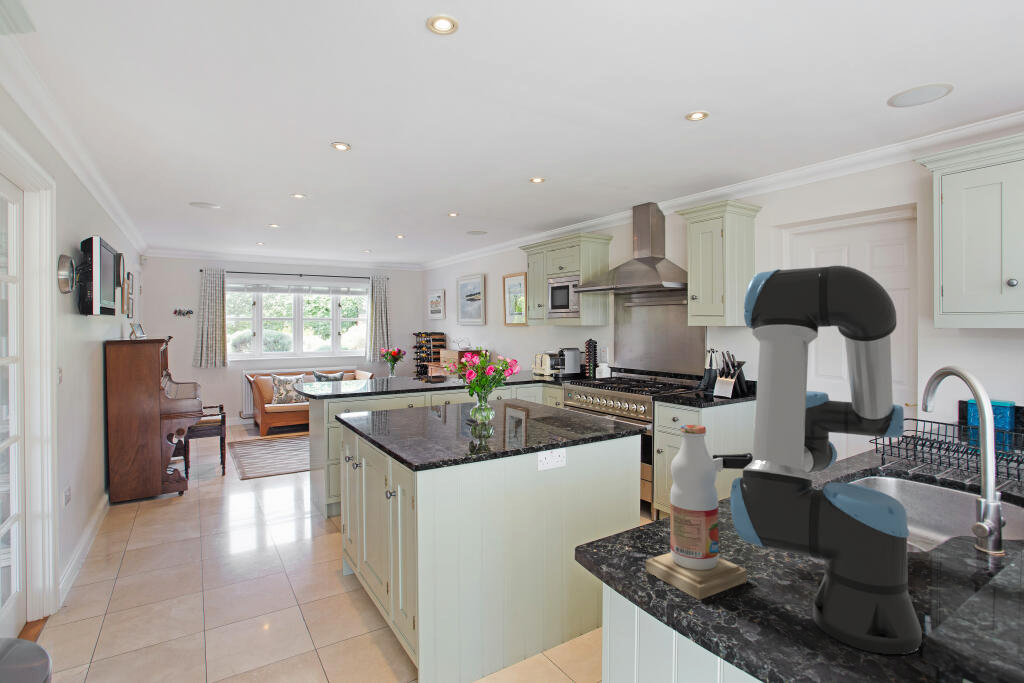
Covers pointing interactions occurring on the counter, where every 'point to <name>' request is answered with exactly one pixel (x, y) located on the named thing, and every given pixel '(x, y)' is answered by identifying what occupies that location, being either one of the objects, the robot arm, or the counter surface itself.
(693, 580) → the board
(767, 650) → the counter surface
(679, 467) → the fruit juice
